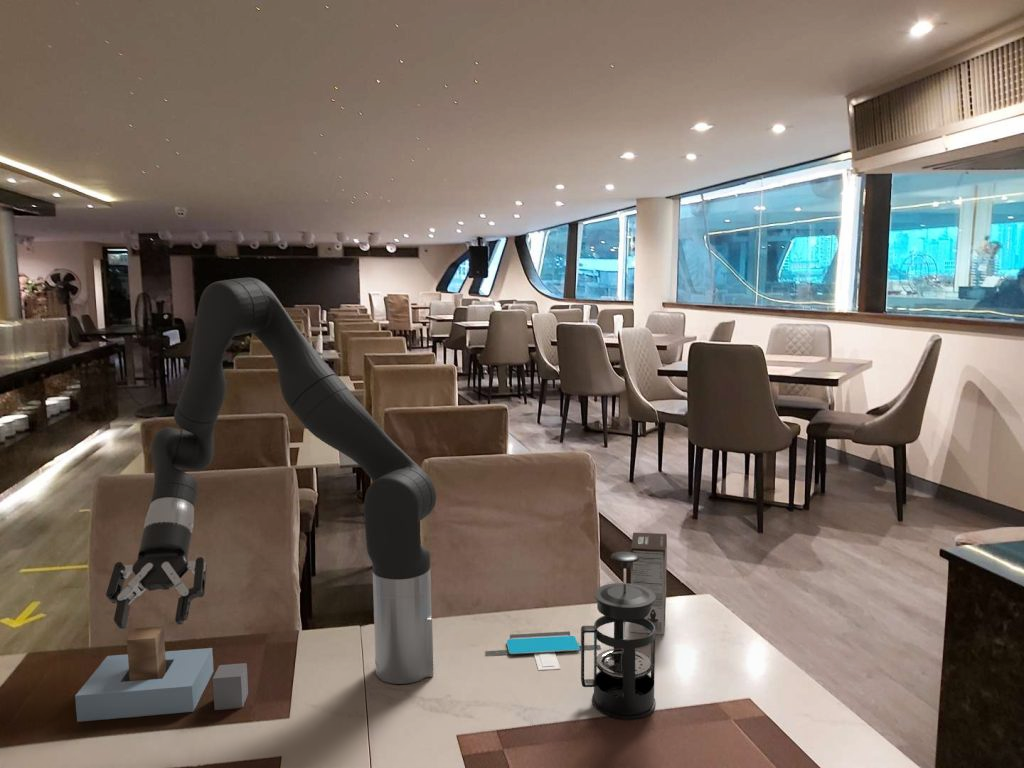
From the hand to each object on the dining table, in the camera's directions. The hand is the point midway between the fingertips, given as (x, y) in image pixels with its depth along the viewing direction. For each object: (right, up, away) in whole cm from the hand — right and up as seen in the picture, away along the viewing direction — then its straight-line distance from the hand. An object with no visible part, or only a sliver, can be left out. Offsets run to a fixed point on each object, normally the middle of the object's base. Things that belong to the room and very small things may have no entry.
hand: (150, 624), depth 114 cm
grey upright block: (+14, -11, -3) cm, 18 cm away
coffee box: (+82, -7, +22) cm, 85 cm away
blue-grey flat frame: (0, -11, -1) cm, 11 cm away
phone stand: (+62, -9, +11) cm, 64 cm away
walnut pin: (0, -11, -1) cm, 11 cm away
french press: (+73, -10, -4) cm, 74 cm away
